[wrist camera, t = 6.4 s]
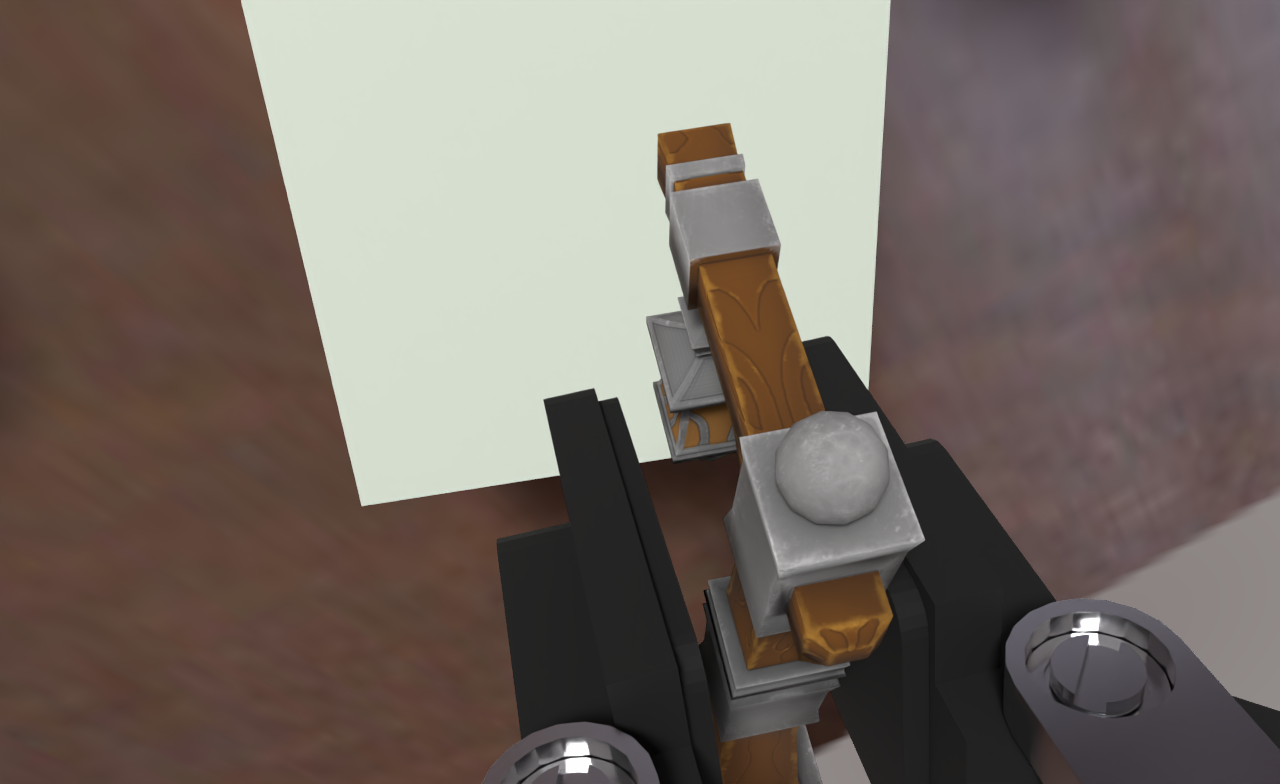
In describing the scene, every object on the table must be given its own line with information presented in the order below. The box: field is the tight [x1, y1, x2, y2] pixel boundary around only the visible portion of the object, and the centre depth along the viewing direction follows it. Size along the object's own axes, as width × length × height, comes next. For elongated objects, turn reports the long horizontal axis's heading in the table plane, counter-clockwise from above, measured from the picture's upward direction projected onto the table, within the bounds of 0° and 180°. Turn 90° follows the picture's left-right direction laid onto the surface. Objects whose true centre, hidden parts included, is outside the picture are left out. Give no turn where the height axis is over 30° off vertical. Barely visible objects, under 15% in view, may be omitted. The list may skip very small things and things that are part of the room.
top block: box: [241, 0, 890, 506], centre depth 20 cm, size 9×9×5 cm
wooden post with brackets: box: [646, 123, 925, 784], centre depth 11 cm, size 2×8×4 cm, turn 5°
